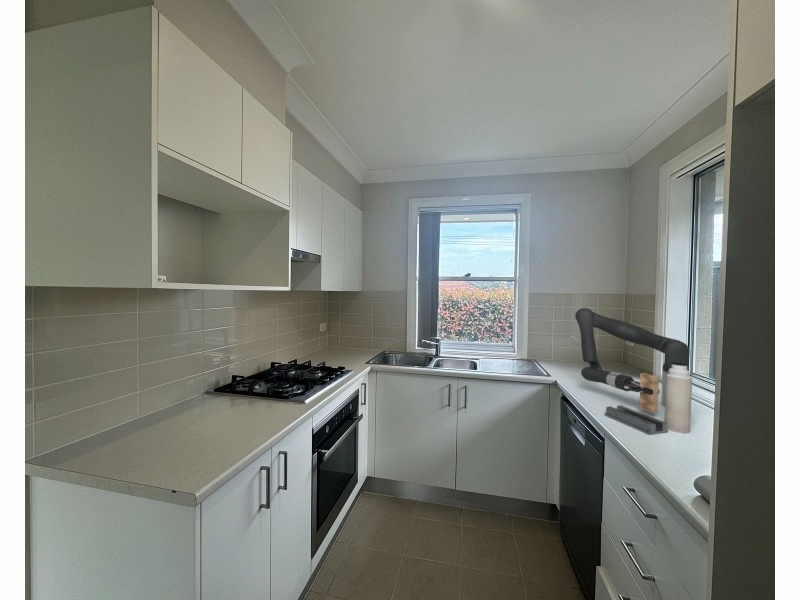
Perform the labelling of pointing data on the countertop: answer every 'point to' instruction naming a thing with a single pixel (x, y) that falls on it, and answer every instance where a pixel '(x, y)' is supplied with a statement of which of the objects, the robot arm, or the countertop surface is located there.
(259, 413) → the countertop surface
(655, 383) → the door slat
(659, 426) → the rail
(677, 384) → the thermos bottle
